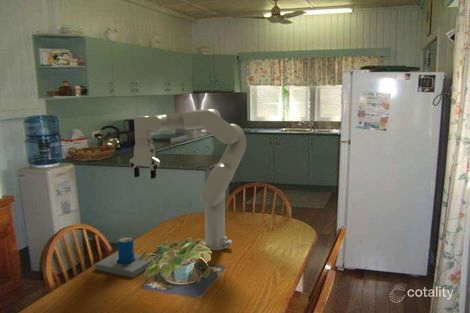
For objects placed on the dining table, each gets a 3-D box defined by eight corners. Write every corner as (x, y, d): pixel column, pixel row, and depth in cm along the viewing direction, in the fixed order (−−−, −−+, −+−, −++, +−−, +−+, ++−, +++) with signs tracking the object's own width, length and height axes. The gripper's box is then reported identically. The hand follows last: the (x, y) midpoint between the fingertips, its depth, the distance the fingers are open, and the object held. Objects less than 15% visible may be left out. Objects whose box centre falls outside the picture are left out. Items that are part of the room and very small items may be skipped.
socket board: (156, 263, 184) (156, 257, 183) (132, 277, 170) (132, 271, 169) (120, 256, 192) (120, 250, 192) (95, 269, 178) (94, 263, 178)
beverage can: (130, 269, 177) (129, 242, 175) (116, 268, 179) (114, 241, 177) (137, 263, 184) (135, 237, 182) (123, 262, 185) (121, 236, 183)
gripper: (163, 141, 200) (164, 177, 202) (133, 140, 207) (135, 174, 210) (153, 143, 193) (155, 180, 196) (123, 142, 200) (125, 177, 203)
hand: (145, 177), depth 203 cm, fingers open, 9 cm apart
